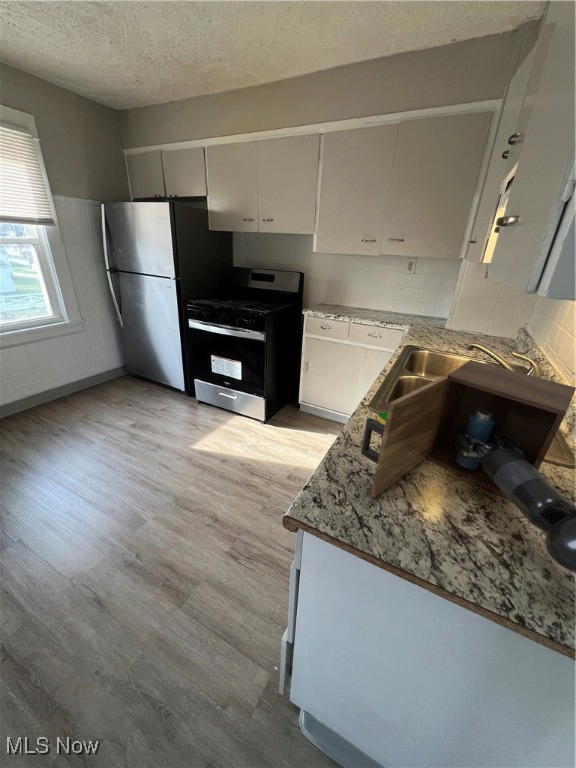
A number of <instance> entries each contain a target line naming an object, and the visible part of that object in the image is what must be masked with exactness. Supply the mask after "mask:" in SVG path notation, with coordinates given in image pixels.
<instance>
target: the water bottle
mask: <svg viewBox="0 0 576 768" xmlns="http://www.w3.org/2000/svg"><path fill="white" fill-rule="evenodd" d="M492 416H493V413H492V412H491V411H489V410H486V409H482V408H479V409H476V412H472V413H471V414H470V416H469V419H468V422H467V425H466V428H465V430H466V431H467V432H468V433H469V435H471V436H472V437H474V438H479V439H481V440H482V441H484V442H485V443H488V440H489V437H490V435H491V432H492V429H493V427H494V424H495V419H494V418H493V417H492ZM468 443H470V444H471V441H470V440H469V441H468ZM477 446H478V444H477ZM476 449H477V447H476ZM455 459H456V462H457V463H458V464H460V465H461V466H463V467H465V468H469V469H476V468H478V466H479V464H480V461H478V460H477V459H476V458H475V457H470V456H468V457H467V459H463V458H462V457H461V455H460V453H459V451H458V452H457V455H456V458H455Z"/></svg>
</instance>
